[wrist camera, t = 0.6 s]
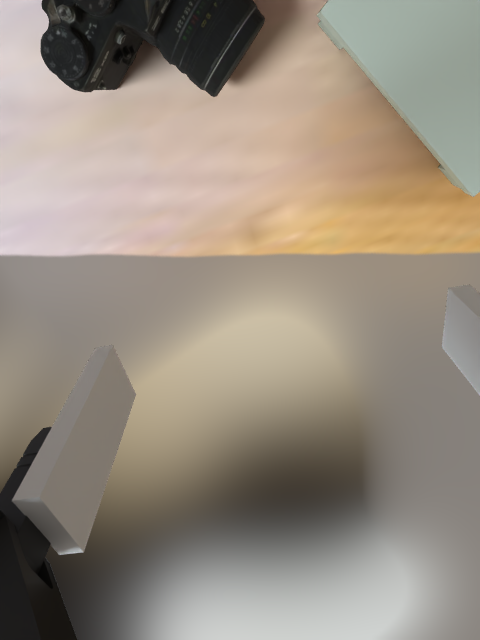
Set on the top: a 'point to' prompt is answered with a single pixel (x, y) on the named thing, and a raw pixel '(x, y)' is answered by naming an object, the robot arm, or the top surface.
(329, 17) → the stand
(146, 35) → the camera
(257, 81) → the top surface
